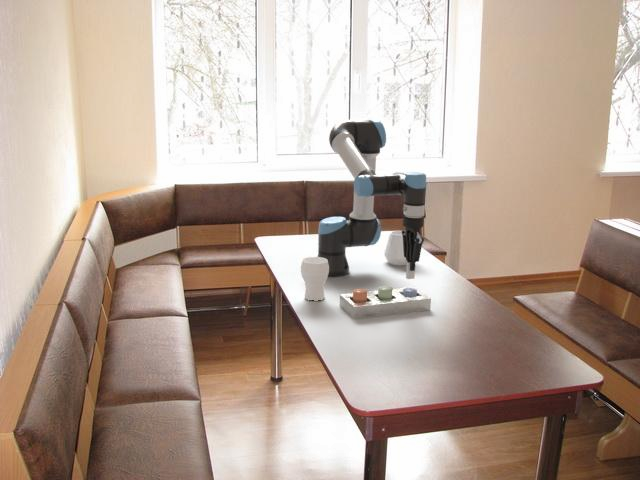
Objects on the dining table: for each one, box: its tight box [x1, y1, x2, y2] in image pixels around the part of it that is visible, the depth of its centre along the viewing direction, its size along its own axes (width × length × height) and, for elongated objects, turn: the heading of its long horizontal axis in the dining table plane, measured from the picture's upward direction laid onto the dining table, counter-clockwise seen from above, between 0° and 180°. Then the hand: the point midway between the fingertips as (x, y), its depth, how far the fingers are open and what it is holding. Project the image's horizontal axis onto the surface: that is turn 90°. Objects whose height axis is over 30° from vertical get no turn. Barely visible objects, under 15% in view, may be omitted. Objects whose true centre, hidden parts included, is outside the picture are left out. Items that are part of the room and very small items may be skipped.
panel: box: [339, 286, 432, 320], centre depth 243 cm, size 14×30×4 cm, turn 109°
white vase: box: [383, 230, 407, 266], centre depth 300 cm, size 13×13×14 cm
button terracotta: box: [352, 288, 368, 303], centre depth 239 cm, size 5×5×5 cm
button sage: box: [377, 285, 394, 300], centre depth 242 cm, size 5×5×5 cm
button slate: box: [403, 287, 418, 297], centre depth 246 cm, size 5×5×5 cm
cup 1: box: [300, 256, 329, 302], centre depth 251 cm, size 11×11×15 cm
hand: (410, 278), depth 245 cm, fingers closed
